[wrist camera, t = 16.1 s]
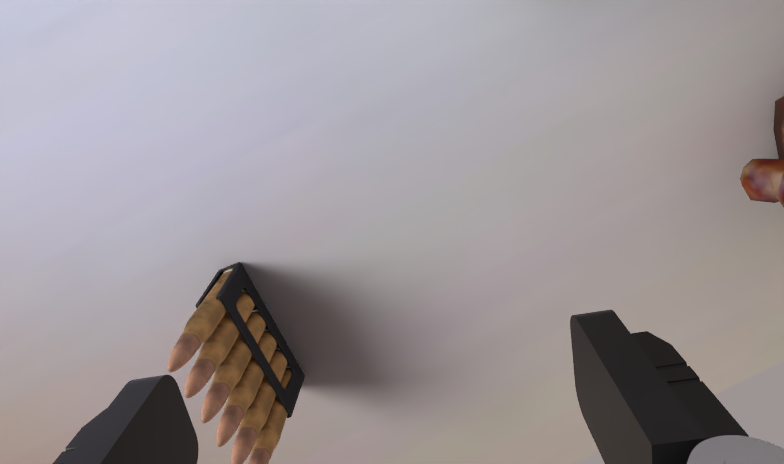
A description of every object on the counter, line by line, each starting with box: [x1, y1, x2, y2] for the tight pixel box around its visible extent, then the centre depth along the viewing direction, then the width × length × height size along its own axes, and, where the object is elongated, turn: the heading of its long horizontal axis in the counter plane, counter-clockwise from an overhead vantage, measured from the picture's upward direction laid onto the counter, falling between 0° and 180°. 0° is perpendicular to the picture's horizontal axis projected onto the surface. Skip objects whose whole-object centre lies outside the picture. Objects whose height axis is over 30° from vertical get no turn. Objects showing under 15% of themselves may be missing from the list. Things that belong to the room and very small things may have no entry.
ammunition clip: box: [168, 262, 304, 464], centre depth 36 cm, size 11×2×12 cm, turn 23°
